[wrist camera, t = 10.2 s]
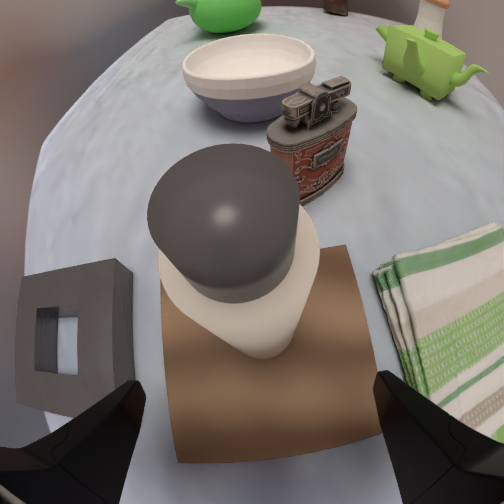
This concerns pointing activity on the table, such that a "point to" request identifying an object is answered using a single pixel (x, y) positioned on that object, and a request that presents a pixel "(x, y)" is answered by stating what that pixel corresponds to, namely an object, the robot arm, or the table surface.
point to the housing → (88, 339)
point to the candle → (336, 6)
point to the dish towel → (452, 324)
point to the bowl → (249, 74)
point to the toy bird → (222, 14)
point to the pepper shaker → (431, 15)
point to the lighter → (314, 135)
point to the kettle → (424, 60)
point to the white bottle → (235, 245)
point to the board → (275, 379)
